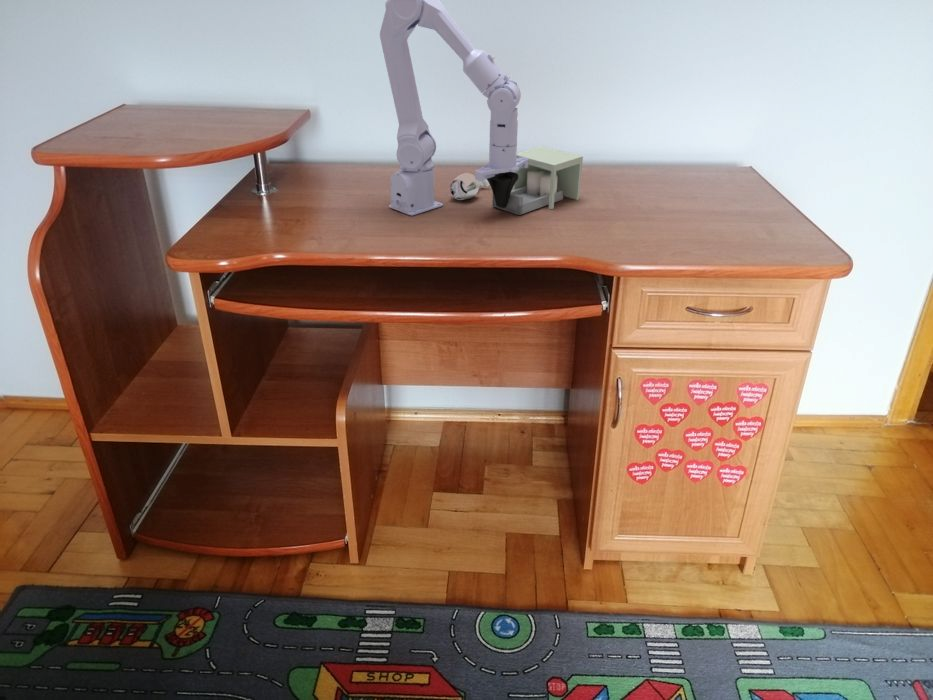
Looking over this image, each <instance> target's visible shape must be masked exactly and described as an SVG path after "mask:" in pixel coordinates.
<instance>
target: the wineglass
mask: <svg viewBox="0 0 933 700" xmlns="http://www.w3.org/2000/svg"><path fill="white" fill-rule="evenodd" d="M489 186H490V184H489V182H488V180H487V179H485V181H482V182H481V181H478V180H475V174H473V173H470V172H464V173H461V174H459V175H458V176H456V177H455V178H454V179H453V180H452V181H451V183H450V185H449V191H450V194H451V196H452V197H453V198H454V199H455V200H459V201H462V200H463V201H465V200H469V199H473V197H475V196H476V194H477V193H478V192H479V189H480V187H481V188H487V187H489Z"/></svg>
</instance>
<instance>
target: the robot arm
mask: <svg viewBox="0 0 933 700" xmlns="http://www.w3.org/2000/svg"><path fill="white" fill-rule="evenodd" d="M384 3H385V12H384V15H383V19H382V22H381V23H382V24H381V26H380V31H379V38H380V43H381V47H382V53H383V56H384V60H385V67H386V71H387V75H388V79H389V84H390V85H389V86H390V89H391V95H392V98H393V103H394V107H395V112H396V116H397V121H398V122H397V123H398V129H397V134H396V140H397V149H396V159H397V162H398V163H399V165H400V167H399V169H398V171H396V172H394V173H392V174H391V176H390V179H389V188H390V189H389V191H390V204H389V205H388V207H389V208H390V209H393V210H396V211H397V212H398V211H399V212H401V213H403V214H405V215H407V216H415V215H419V214H423V213H426V212H428V211H431V210H435V209H437V208H441V207H443V206H444V204H443V203H442V202H439V201H437V200H435V168H434V167H435V165H434V162H433V159H432V157H433V156H434V155H435V153H436V149H437V142H436V140H435V138H434V137H433V136H432V133H431V132H430V129H429V125H428V123H427V122H426V120H425V119H424V116H423V112H422V107H421V102H420V97H419V92H418V87H417V83H416V77H415V72H414V68H413V64H412V57H411V52H410V47H409V42H408V40H409V38H410V35H412V33H413V31H414V30H415V28H416V27H417V26H418V27H421V28H425V29H430V30H432V31H433V30H434V31H435V32H436V33H437V34H438V35H439V36H440V37H441V38H442V40H443V41H444V42H445V43H446V44H447V45H448V46H449V47H450V48H451V49H452V50H453V52H454V53H455V54H456V55H457V57H458V58H460V59H461V61H462V64H463V65H462V71H463V72H464V74H465V75H466V76H467V78H469V80H470V81H471V82H472V84H473V85H474V86H475V87H476V88H477V90H478V91H479V92H480V93H481V94H482V95H483V97H486V98H487V100H486V104H487V107H488V110H490V121H489V144H488V145H489V153H488V154H489V155H488V157H489V158H488V163H486V164H485V165H484V166H482V167H480V168H478V169H476V170H474V176H475V180H478V181H481V182H482V181H485V179H487V180H488V182H489V184H490V185H489V186H490V188H491V191H492V195H493V194H494V198H495V203H496V206H498V207H501V208H505V207H507V203H508V200H509V197H510V193H511V191H512V188H513V186H514V184H515V183H516V181H517V180H518V174H516V173H514V172H516V171H519V169H520V168H528V162H529V159H527V158H524V157H520V158H516V153H518V152H517V149H518V147H517V146H518V130H519V129H518V126H519V125H518V124H519V123H518V116H519V113H518V107H517V106H518V104H519V103H520V100H521V95H522V93H521V90H520V88H519V85H518V84H517V82H516V81H514V80H512V79H510V75H508V74H507V73H506V74H505V73H504V72H503V71H502V70H501V68H500V67H499V66H498V64H497V63H496V62H495V60H494V59H495V56H494V55H493V54H492V53H491V52H490V53H487V51H486V50H484V49H476V48H475V47H474V45H473V44H472V42H471V41H470V40H469V39H468V37H467V36H466V34H465V33H464V31H462V29H461V27H459V25H458V24H457V22H456V21H455V20H454V18H453V17H452V16H451V14H450V13H449V12H448V10H447V9H446V8H445V6H444V5H443V3H442V1H440V0H387V1H386V2H384Z"/></svg>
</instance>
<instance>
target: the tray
mask: <svg viewBox="0 0 933 700" xmlns="http://www.w3.org/2000/svg"><path fill="white" fill-rule="evenodd" d="M557 179H558V176H557V175H556V182H555V197H554V203H557V202H559V201H562V200H563V199H564V196H563V190H560V189H557ZM550 180H551V173H545V174H544V171H542V170H529V171H527V186H525V187H522V188H519V189H516V190H513V191H511V193H510V197H509V200H508V203H507V207H505V208H501V207H498V206H496V203H495V198H494V194H493V193H492V207H494V208H497V209H500V210H503V211H505V212H509V213H510V214H514V215H518V216H521V215H523V214H526V213H529V212H531V211H534V210H537V209H540V208H542V207H545V206H549V195H550Z"/></svg>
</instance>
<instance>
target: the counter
mask: <svg viewBox="0 0 933 700" xmlns="http://www.w3.org/2000/svg"><path fill="white" fill-rule="evenodd" d="M520 157H524V158H527V159H529V162H528V168H520V169H519V171H516V172H514V173H516V174H518V180H517V181H516V183H515V184H514V186H513V188H512V191H513V190H516V189H519V188H522V187H525V186H527V171H529V170H542V171H544V174H545V173H551V180H550V195H549V205H548V209H549V210H553V209H554V210H555V202H554V197H555V182H556V175H557V176H558V179H557V189H560V190H563V197H566V198H569V199H571V200H574V201H575V200H576V201H578V200H580V194H581V185H582V184H581V182H582V171H583V158H584V156H583V155H579V154H576V153H572V152H571V153H570V152H566V151H562V150H559V149H554V148H552V147H546V146H543V145H541V146H538V147H537V146H536V147H534V148H531V149H527V150H523V151H520V152H517V153H516V158H520Z"/></svg>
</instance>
